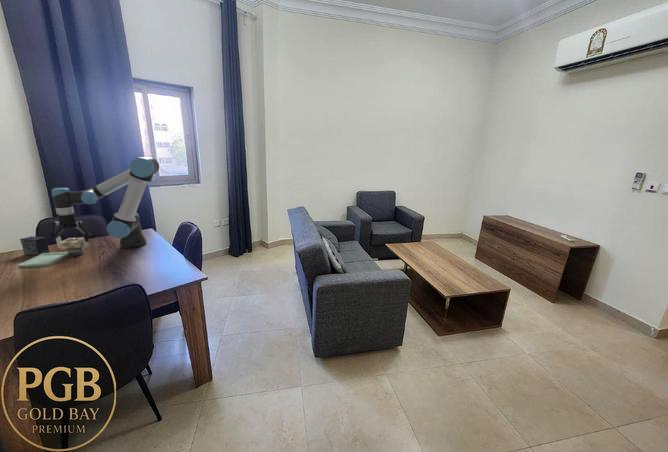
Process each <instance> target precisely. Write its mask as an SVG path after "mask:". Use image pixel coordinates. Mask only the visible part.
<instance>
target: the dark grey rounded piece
mask: <svg viewBox="0 0 668 452" xmlns="http://www.w3.org/2000/svg"><path fill="white" fill-rule="evenodd" d="M69 238H70V239H69V241H76V239H75V238H76V237H69ZM66 252H67V253H68V256H67V257H68V258H76V257H77V258H78V257H81V256H83V255H84V253H85V252H84V250H83V246H81V247H79V248H71V249H66Z"/></svg>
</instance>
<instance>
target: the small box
mask: <svg viewBox="0 0 668 452" xmlns="http://www.w3.org/2000/svg"><path fill="white" fill-rule="evenodd" d="M19 241H20V244H21V247H22V251H23V254H25V255H24V256H34V255H37V256H38V255H41V254H43V253H50V249H49V244H48V240H47V237H46V236H31V235H30V236H27V237H23V238H20V239H19Z"/></svg>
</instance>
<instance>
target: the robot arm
mask: <svg viewBox="0 0 668 452" xmlns="http://www.w3.org/2000/svg"><path fill="white" fill-rule="evenodd" d="M159 171H160V163H159V162H158V160H156V158H154V157H151V156H138V157H136V158H133V159H132V160H131V161H130V164H129V168H128V169H127V170H125V171H122V172H121V173H119V174H117V175H115V176H113V177H111V178H109V179H106V180H105V181H103V182H101V183H99V184H97V185H95V186H93V187H91V188H88V189H85V190H81V191H80V190H79V191H71V190H70V189H69V188H68V187H55V188H52V189H51V197H52V199H53V203H54V206H55V213H56V215H57V220H58V221H54V222H52V227H51V230H50V233H49V238H53V239H54V242H55V244H56V246H57V248H58V249H60V247H59V242H61V241H62V238H61V236H60V235H62V232H63V231H64V230H73V231H76V232H77V234H79V235H81V236H82V237H81V238H83V243H84V245H83V246H84V248H88V247H89V246H90V245H89V241H90V239H89V237H90V236H91V235H92V233H91V231H90V230H89V229H88V228H87V226H86V225H84V222H83V220H80V221H77V220H76V213H75V209H74V205H91V204H96V203H97V201H98V200H100V199H102V198H105V196H108V195H109V194H111V193H113V192H115V191H117V190H119V189H120V188H123V187H125V186H127V188H126V191H125V193H124V195H123V198H122V201H121V203H120V207H119V209H118V212H116V213H114V214H113V217H112V219H111V221H110V222H109V223H108V224H107V226H106V231H107V233H108V234H109V235H110V236H111V237H113V238H116V239H119V247H120V248H122V249H132V248H131V247H134V248H138V247H137V246H139V247H141V246H140V245H142V246H144V245H143V244H145V243H146V242H147V239H146V237H145V236H144V234H143V232H142V226H141V219H140V216H139V213H138V212H137V210H138V208H139V205H140V203H141V200H142V197H143V195H144V193H145V189H146V187H147V184H148V183H150V182H152V179H153V178H154V175H155V174H157V173H158V172H159ZM59 226H60V227H59ZM58 228H59V229H58ZM146 244H147V243H146ZM146 244H145V245H146Z"/></svg>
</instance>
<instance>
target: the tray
mask: <svg viewBox="0 0 668 452" xmlns="http://www.w3.org/2000/svg"><path fill="white" fill-rule="evenodd" d="M66 257H69V256H68V253H67V251H66V252H65V251H64V252H63V251H62V252H61V251H60V252H49V253H43V254H41V255H38V256H33V257H32V258H30V259H28V260H25V261H23V262H22V263H19V264H17V267H18V268H32V267H35V268H36V267H49V266H51V265H54V264H55V263H57V262H59V261H61V260H63V259H64V258H66Z"/></svg>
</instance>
